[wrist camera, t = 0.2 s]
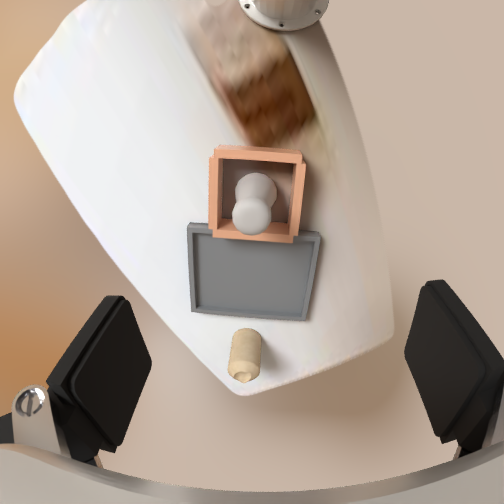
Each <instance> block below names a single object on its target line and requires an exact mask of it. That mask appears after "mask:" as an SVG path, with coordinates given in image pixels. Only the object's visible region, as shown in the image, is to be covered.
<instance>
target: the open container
mask: <svg viewBox="0 0 504 504" xmlns="http://www.w3.org/2000/svg"><path fill="white" fill-rule="evenodd" d="M223 158H226V159H245V160H261V161H274V162H286V163H294V165H293V175H292V185H291V195H290V205H289V215H288V223H279V222H270V224H269V226H268V227H267V229H266V230H265V231H264V232H262V233H261V234H258V235H253V236H251V235H245V234H243V233H241V232H240V231H239V230H237V229H236V227H235V225H234V223H233V219H224V218H222V189H223ZM305 170H306V164H305V162H304V160H303V159H302V154H301V152H300V151H299V150H291V149H279V148H267V147H252V146H233V145H219V146H218V147H216V148H215V149H214V154H213V155H212V156H211V157H210V158H209V214H208V229H213V237H216V238H229V239H243V240H256V241H269V242H282V243H293V236H298V231H299V223H300V214H301V206H302V197H303V189H304V180H305Z"/></svg>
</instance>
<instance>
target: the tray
mask: <svg viewBox="0 0 504 504" xmlns="http://www.w3.org/2000/svg"><path fill="white" fill-rule="evenodd" d="M320 239H321V236H320V234H319V232H313V231H302V230H299V231H298V236H293V243H282V242H269V241H256V240H243V239H229V238H216V237H213V229H208V224H207V223H191V222H190V223H189V225H188V226H187V243H188V265H189V282H190V298H191V311H192V312H197V313H207V314H216V315H227V316H238V317H250V318H263V319H278V320H294V321H305V320H306V315H307V310H308V305H309V300H310V295H311V290H312V285H313V279H314V274H315V269H316V263H317V257H318V251H319V245H320Z"/></svg>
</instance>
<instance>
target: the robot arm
mask: <svg viewBox="0 0 504 504" xmlns="http://www.w3.org/2000/svg"><path fill="white" fill-rule="evenodd" d="M238 1H239V4H240V6H241V8H242V10H243V11H244V13H245V14H246V15H247V16H248V17H249V18H250V19H251V20H252V21H254V22H256V23H257V24H259V25H261V26H263V27H266V28H269V29H273V30H279V31H294V30H300V29H303V28H306V27H309V26H310V25H312V24H314V23H315V22H317V21H318V20H319V19H320V18H321V17H322V15H323V14H324V13H325V11H326V9H327V6H328V3H329V0H238ZM246 7H250V8H249V9H246ZM316 12H317V13H319V14H316ZM280 25H283V27H280ZM404 354H405V359H406V361H407V364H408V366H409V368H410V371H411V373H412V376H413V378H414V380H415V383H416V385H417V388H418V390H419V393H420V395H421V398H422V401H423V403H424V406H425V409H426V411H427V414H428V417H429V420H430V422H431V425H432V428H433V431H434V434H435V435H436V436H438V437H440V440H441V443H442V444H444V443H447V442H450V441H453V440H456V439H457V442H458V448H457V450H456V453H455V455H454V458H453V460H452V461H449V462H446V463H443V464H440V465H437V466H433V467H431V468H427V469H424V470H420V471H417V472H413V473H410V474H406V475H402V476H398V477H393V478H389V479H385V480H380V481H375V482H370V483H364V484H358V485H352V486H345V487H337V488H330V489H320V490H308V491H292V492H240V491H223V490H211V489H202V488H192V487H186V486H179V485H172V484H166V483H161V482H155V481H151V480H145V479H141V478H137V477H132V476H128V475H124V474H121V473H117V472H113V471H109V470H106V469H104V468H103V466H102V464H101V461H100V458H99V456H98V451H99V449H101V450H105V451H108V452H112V453H115V451H116V448H117V446H120V445H121V444H122V442H123V440H124V437H125V434H126V431H127V429H128V426H129V424H130V421H131V418H132V416H133V413H134V410H135V408H136V405H137V403H138V400H139V397H140V395H141V392H142V390H143V387H144V385H145V382H146V380H147V377H148V375H149V372H150V370H151V366H152V361H151V357H150V355H149V352H148V350H147V347H146V345H145V343H144V340H143V337H142V335H141V332H140V329H139V327H138V324H137V321H136V318H135V316H134V313H133V310H132V307H131V304H130V302H129V301H128V300H126V299H125V298H124V297H123V296H106V297H105V298H104V299H103V300H102V302H101V303H100V304H99V306H98V307H97V308H96V310H95V311H94V312H93V314H92V315H91V316H90V318H89V319H88V320H87V322H86V323H85V325H84V326H83V327H82V329H81V330H80V331H79V333H78V334H77V336H76V337H75V339H74V340H73V341H72V343H71V344H70V346H69V347H68V348H67V350H66V352H65V353H64V354H63V356H62V357H61V359H60V360H59V362H58V363H57V365H56V366H55V368H54V369H53V371H52V372H51V374H50V376H49V377H48V378H47V380H46V382H47V384H48V385H49V388H48V390H46V389H45V388H44V387H43V386H40V385H30V386H27V387H25V388H24V389H22V390H21V391H20V392H18V394H17V395H16V397H15V398H14V400H13V403H12V412H11V413H8V414H6V415H4V416H2V417H0V504H504V359H503V358H502V356H501V355H500V353H499V352H498V350H497V349H496V347H495V346H494V344H493V343H492V341H491V340H490V338H489V337H488V336H487V334H486V333H485V332H484V330H483V329H482V328H481V326H480V325H479V323H478V322H477V321H476V319H475V318H474V317H473V315H472V314H471V313H470V311H469V310H468V309H467V307H465V305H464V304H463V303H462V301H461V300H460V299H459V297H458V296H457V295H456V294H455V292H454V291H453V290H452V289H451V288H450V286H449V285H448V284H447V283H446V282H445V281H444V280H433V281H427V282H426V284H425V286H423V287H422V288H421V290H420V294H419V298H418V302H417V306H416V310H415V314H414V318H413V322H412V325H411V329H410V333H409V336H408V339H407V343H406V346H405V351H404Z"/></svg>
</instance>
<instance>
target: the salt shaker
mask: <svg viewBox="0 0 504 504" xmlns="http://www.w3.org/2000/svg"><path fill="white" fill-rule="evenodd" d="M235 198H236V204H235V207H234V209H233V211H232V219H233V223H234V225H235V227H236V229H237V230H239V231H240V232H241V233H243V234H245V235H251V236H253V235H258V234H261V233H262V232H264V231H265V230H266V229H267V227H268V226H269V224H270V222H271V209H270V208H271V207H272V206H273V204H274V202H275V200H276V198H277V188H276V186H275V184H274V182H273V180H272V179H270V178H269V177H268V176H266V175H265V174H261V173H256V172H255V173H251V174H247V175H245V176H244V177H243V178H242V179H240V180H239V181H238V184H237V186H236V188H235Z"/></svg>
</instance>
